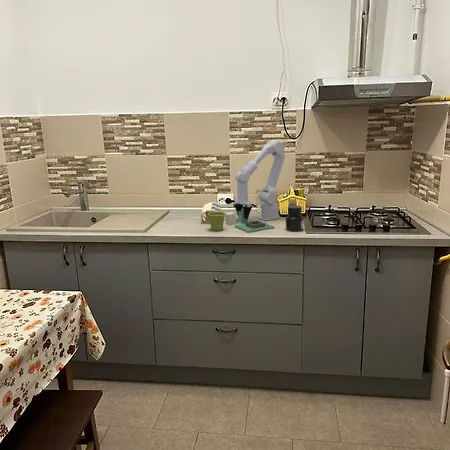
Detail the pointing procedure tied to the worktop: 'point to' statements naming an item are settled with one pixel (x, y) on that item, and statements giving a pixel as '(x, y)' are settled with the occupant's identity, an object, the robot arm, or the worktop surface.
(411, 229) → the worktop surface
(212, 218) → the plant pot
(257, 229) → the board
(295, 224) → the ink bottle
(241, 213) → the teal plug
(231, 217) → the offwhite plug
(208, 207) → the yellow striped curved piece
